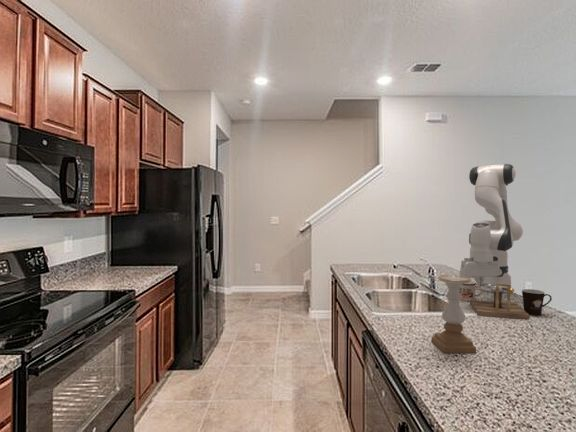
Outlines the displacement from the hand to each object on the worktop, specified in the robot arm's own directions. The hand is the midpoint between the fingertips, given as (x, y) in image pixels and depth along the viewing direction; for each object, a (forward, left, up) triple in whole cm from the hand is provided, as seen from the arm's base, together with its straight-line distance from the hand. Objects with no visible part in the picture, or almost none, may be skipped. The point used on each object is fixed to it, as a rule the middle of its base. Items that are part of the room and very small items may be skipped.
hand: (479, 286), depth 186 cm
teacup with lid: (-12, -2, -10) cm, 16 cm away
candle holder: (+60, -18, -10) cm, 63 cm away
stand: (+7, +7, -10) cm, 13 cm away
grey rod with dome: (+5, +6, 0) cm, 8 cm away
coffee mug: (+7, +22, -10) cm, 25 cm away
